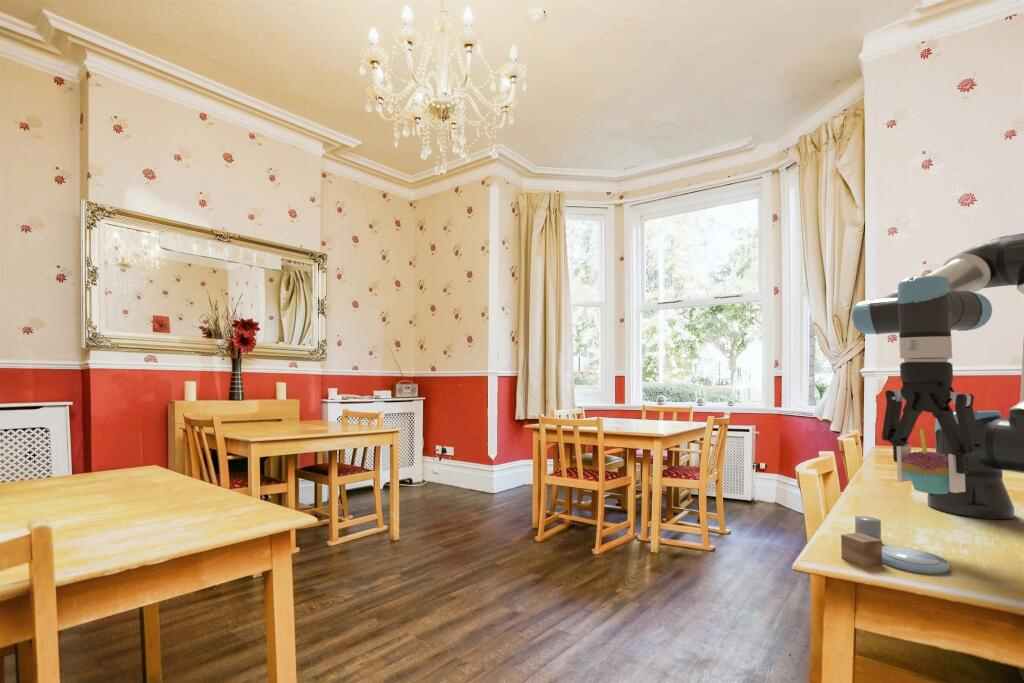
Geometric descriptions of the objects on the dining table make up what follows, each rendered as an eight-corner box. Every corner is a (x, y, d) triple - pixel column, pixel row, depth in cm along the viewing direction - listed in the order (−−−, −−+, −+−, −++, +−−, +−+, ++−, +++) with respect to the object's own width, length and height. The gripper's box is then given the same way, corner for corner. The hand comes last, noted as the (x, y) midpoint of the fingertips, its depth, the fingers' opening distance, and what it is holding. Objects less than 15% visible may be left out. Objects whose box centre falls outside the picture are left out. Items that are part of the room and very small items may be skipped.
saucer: (901, 549, 92) (901, 542, 92) (964, 571, 83) (964, 563, 83) (859, 554, 89) (858, 547, 89) (919, 577, 80) (919, 569, 80)
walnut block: (859, 556, 89) (859, 532, 89) (882, 565, 85) (881, 540, 85) (841, 558, 88) (841, 534, 88) (863, 567, 84) (863, 542, 84)
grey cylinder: (866, 536, 100) (865, 515, 100) (886, 543, 96) (886, 521, 96) (850, 537, 99) (849, 516, 99) (870, 544, 95) (869, 522, 95)
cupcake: (943, 498, 88) (941, 428, 89) (890, 488, 96) (888, 423, 96) (972, 493, 91) (969, 425, 92) (918, 483, 99) (916, 420, 100)
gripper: (856, 361, 104) (860, 475, 103) (977, 360, 83) (983, 502, 83) (884, 361, 106) (888, 472, 105) (1008, 360, 86) (1014, 498, 85)
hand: (930, 485), depth 94 cm, fingers closed on cupcake, 8 cm apart
